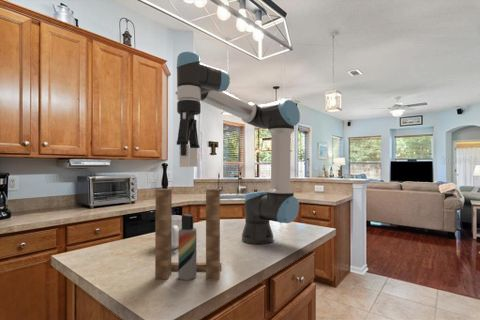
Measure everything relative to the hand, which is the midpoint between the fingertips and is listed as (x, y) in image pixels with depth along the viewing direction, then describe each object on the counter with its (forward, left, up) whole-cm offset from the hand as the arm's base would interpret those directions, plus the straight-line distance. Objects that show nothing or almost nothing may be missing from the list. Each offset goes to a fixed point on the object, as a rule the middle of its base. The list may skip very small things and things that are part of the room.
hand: (189, 166), depth 87 cm
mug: (+14, -30, -36) cm, 48 cm away
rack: (0, -2, -35) cm, 35 cm away
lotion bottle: (+1, 0, -36) cm, 35 cm away
